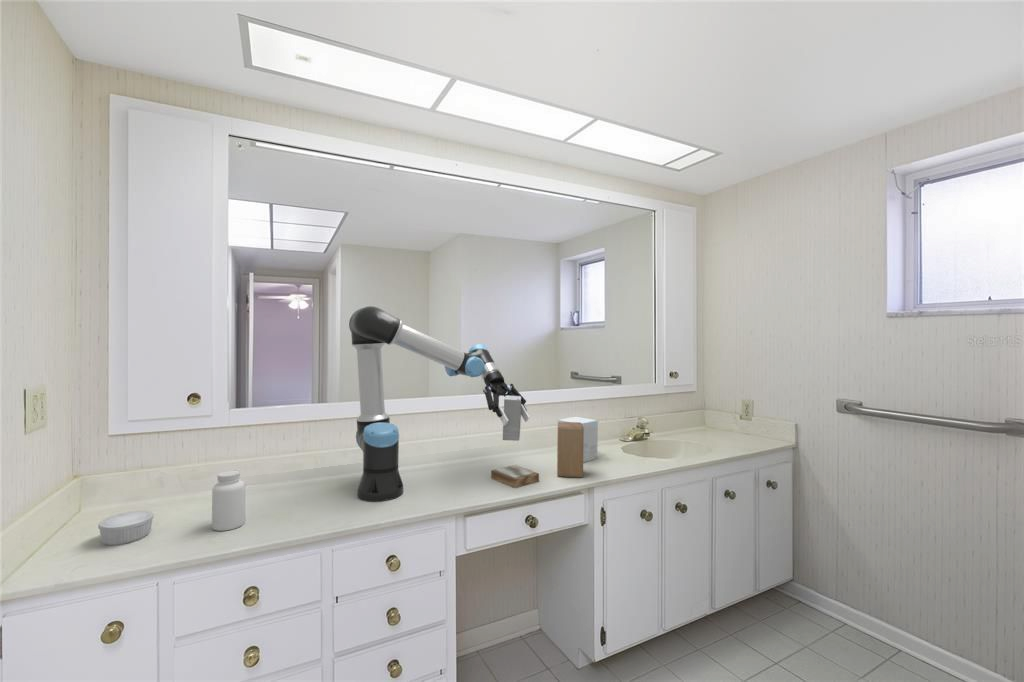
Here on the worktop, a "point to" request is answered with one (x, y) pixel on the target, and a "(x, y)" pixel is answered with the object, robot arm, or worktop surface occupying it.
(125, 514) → the ramekin
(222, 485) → the pill bottle
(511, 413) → the skincare box
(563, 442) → the wooden block
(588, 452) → the supplement box
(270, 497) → the worktop surface
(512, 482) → the wooden framed mirror
